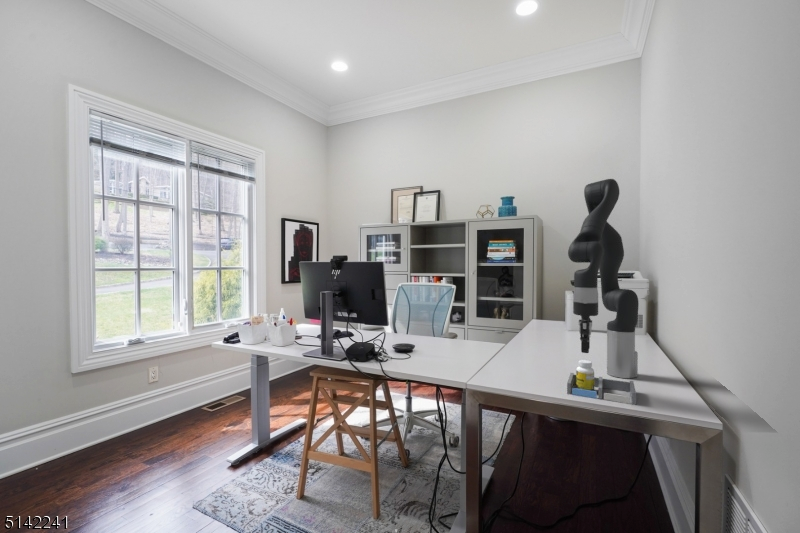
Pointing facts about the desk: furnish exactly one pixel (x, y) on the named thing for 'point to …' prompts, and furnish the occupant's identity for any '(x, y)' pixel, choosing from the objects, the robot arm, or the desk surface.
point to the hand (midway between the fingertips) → (585, 350)
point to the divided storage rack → (604, 384)
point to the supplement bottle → (585, 375)
